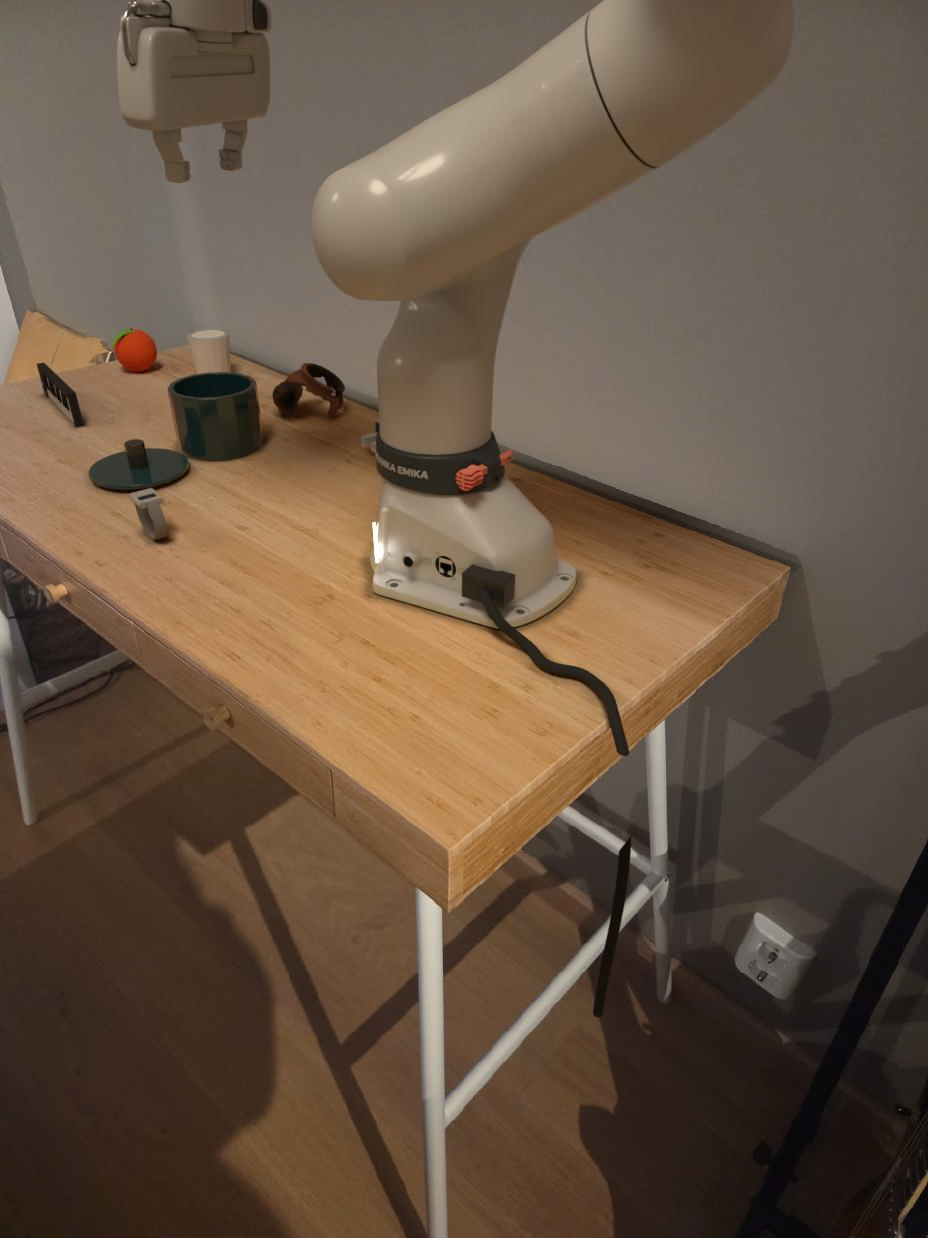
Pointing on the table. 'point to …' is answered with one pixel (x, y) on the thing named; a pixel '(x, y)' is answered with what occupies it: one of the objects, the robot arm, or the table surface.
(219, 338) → the cream white cylinder
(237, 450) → the tin
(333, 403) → the brown arched strap
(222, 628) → the table surface
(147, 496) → the wristwatch
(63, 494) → the table surface
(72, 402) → the midi keyboard
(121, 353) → the clementine
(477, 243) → the robot arm
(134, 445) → the lid
